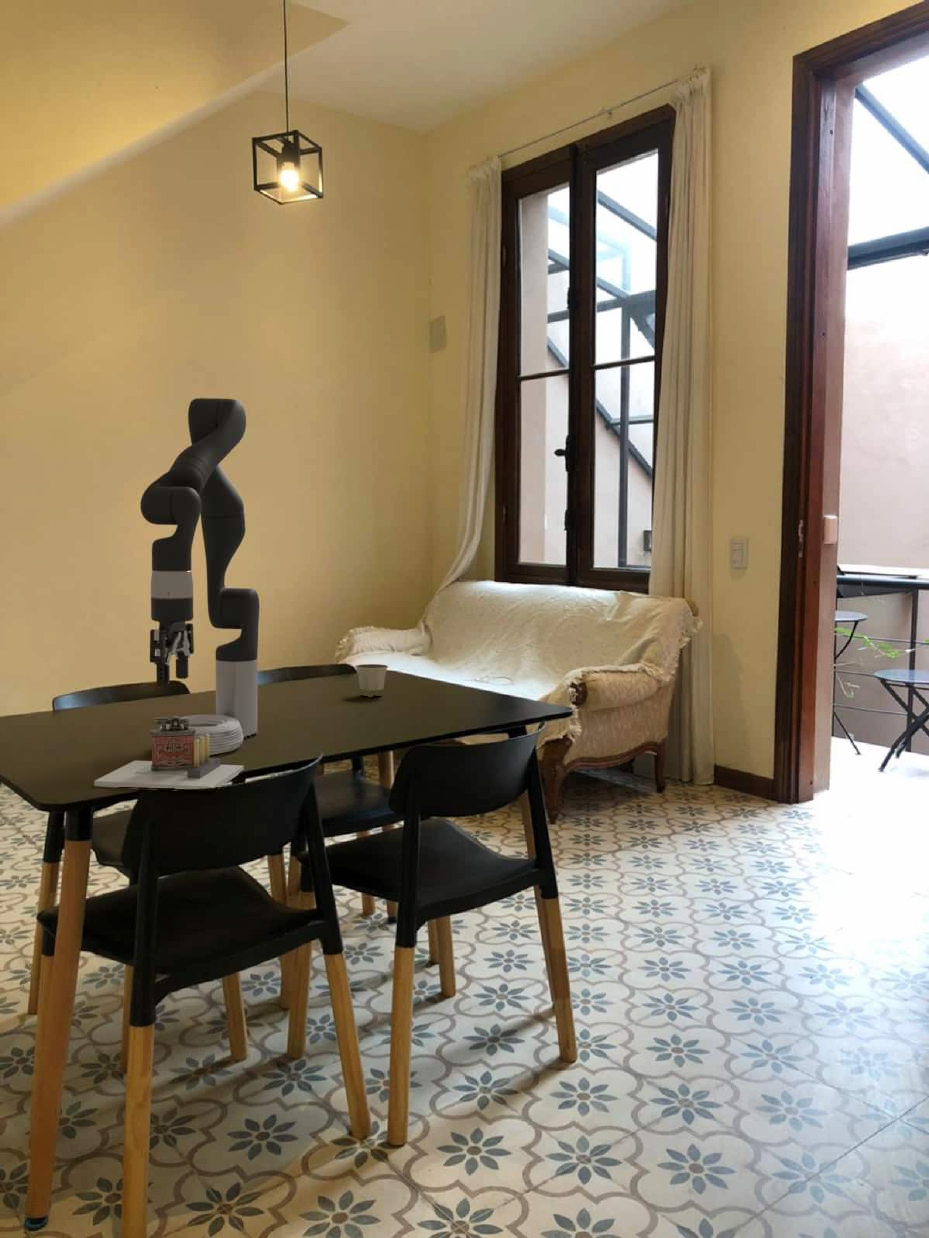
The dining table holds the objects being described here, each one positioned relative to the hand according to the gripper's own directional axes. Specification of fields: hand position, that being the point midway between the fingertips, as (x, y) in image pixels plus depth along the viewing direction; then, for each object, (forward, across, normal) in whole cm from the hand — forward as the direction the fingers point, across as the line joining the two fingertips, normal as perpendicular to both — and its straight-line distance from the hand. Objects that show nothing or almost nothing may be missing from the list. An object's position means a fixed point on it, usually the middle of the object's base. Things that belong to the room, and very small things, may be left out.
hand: (172, 681), depth 181 cm
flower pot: (+19, +96, -17) cm, 100 cm away
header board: (+18, -2, 0) cm, 18 cm away
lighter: (+17, 0, 0) cm, 17 cm away
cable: (+18, +23, +4) cm, 30 cm away
